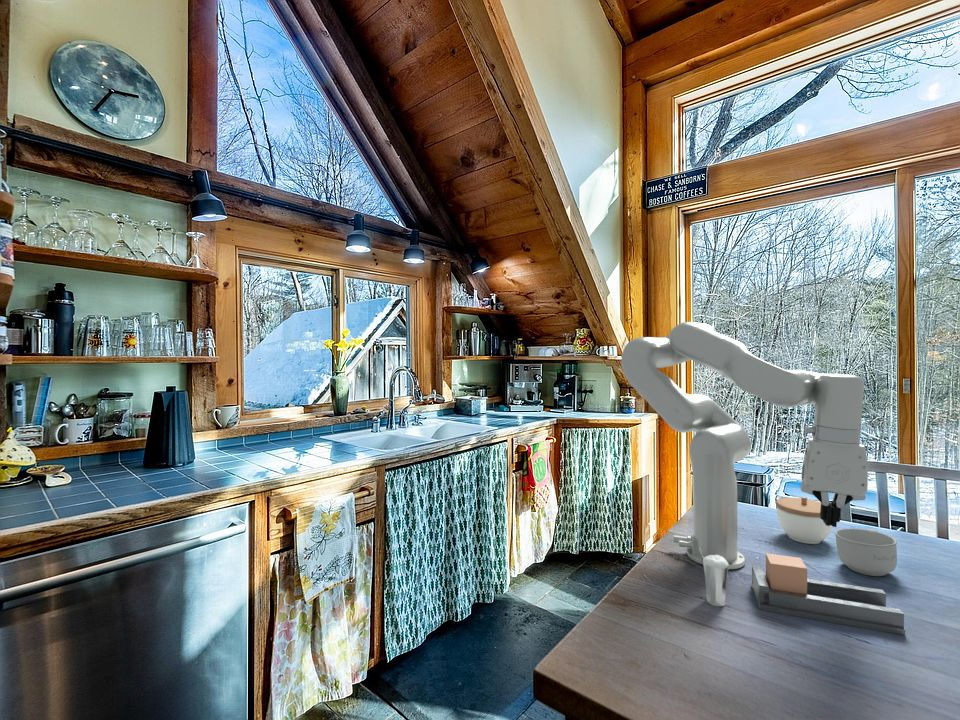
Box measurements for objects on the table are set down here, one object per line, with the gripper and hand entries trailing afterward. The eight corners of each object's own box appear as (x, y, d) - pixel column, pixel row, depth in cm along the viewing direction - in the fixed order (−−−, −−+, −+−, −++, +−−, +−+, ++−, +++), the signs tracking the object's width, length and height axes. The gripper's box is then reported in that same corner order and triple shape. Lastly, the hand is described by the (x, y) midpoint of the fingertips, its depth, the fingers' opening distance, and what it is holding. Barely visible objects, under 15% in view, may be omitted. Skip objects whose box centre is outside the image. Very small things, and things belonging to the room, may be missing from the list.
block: (770, 598, 91) (770, 563, 91) (765, 587, 95) (765, 553, 95) (807, 605, 88) (807, 568, 88) (800, 592, 93) (800, 557, 93)
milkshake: (703, 592, 96) (703, 544, 96) (731, 602, 92) (731, 552, 92) (695, 600, 93) (695, 551, 93) (724, 611, 89) (724, 559, 89)
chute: (759, 609, 89) (759, 586, 89) (751, 585, 98) (751, 564, 98) (905, 635, 81) (905, 609, 81) (881, 606, 90) (881, 583, 90)
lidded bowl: (767, 528, 130) (767, 489, 130) (816, 530, 129) (816, 491, 129) (791, 547, 118) (791, 504, 118) (845, 549, 116) (845, 506, 116)
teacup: (882, 586, 98) (882, 548, 98) (825, 565, 108) (825, 531, 108) (912, 571, 104) (912, 536, 104) (855, 553, 114) (856, 521, 114)
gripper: (795, 434, 93) (789, 523, 94) (890, 443, 87) (882, 539, 88) (788, 427, 100) (782, 511, 101) (876, 436, 94) (868, 524, 95)
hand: (829, 523), depth 94 cm, fingers closed
